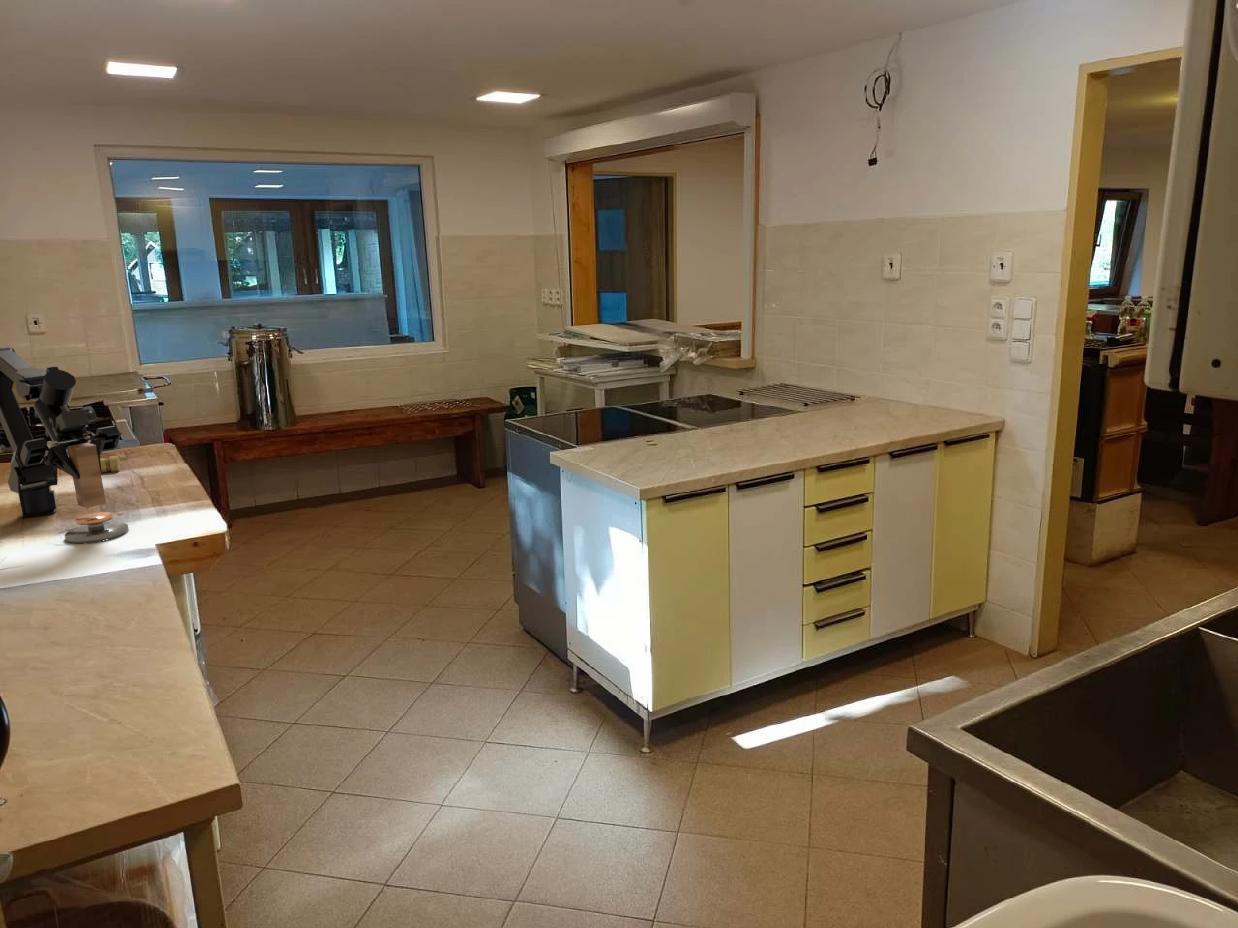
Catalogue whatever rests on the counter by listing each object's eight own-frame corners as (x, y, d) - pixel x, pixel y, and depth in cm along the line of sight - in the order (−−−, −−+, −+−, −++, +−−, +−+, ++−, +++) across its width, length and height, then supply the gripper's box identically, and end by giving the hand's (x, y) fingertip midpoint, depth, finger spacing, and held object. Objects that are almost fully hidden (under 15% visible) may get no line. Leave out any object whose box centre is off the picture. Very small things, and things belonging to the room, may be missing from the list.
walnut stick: (78, 505, 191) (67, 446, 187) (97, 500, 194) (87, 442, 191) (86, 508, 188) (75, 448, 185) (106, 503, 191) (95, 444, 188)
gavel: (87, 450, 262) (125, 446, 266) (90, 465, 263) (128, 461, 266) (75, 461, 243) (116, 456, 247) (78, 477, 244) (119, 472, 247)
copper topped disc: (63, 547, 185) (59, 529, 184) (67, 531, 195) (64, 514, 194) (128, 537, 190) (125, 519, 189) (128, 522, 201) (126, 505, 200)
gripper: (14, 403, 180) (48, 462, 177) (110, 389, 195) (142, 444, 191) (6, 436, 187) (39, 494, 183) (99, 421, 201) (131, 474, 198)
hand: (89, 475), depth 189 cm, fingers closed on walnut stick, 4 cm apart
